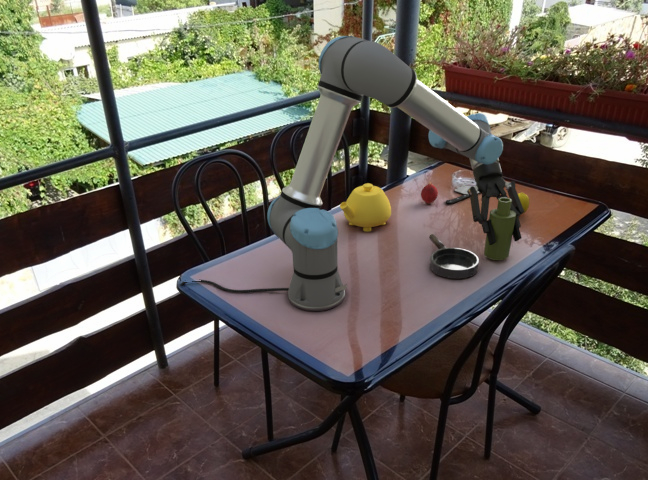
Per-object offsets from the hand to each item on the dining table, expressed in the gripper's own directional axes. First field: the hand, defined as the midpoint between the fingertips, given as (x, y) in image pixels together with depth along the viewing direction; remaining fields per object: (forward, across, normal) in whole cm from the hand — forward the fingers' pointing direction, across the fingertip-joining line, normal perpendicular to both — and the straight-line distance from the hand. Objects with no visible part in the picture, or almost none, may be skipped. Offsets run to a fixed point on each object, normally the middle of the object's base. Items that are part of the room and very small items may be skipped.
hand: (505, 241), depth 156 cm
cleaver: (-32, -15, -42) cm, 55 cm away
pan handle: (-5, +14, -13) cm, 20 cm away
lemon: (-15, -21, -25) cm, 36 cm away
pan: (+4, +14, -6) cm, 16 cm away
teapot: (-20, +30, -31) cm, 48 cm away
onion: (-28, +3, -38) cm, 47 cm away
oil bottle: (+2, 0, -7) cm, 7 cm away
